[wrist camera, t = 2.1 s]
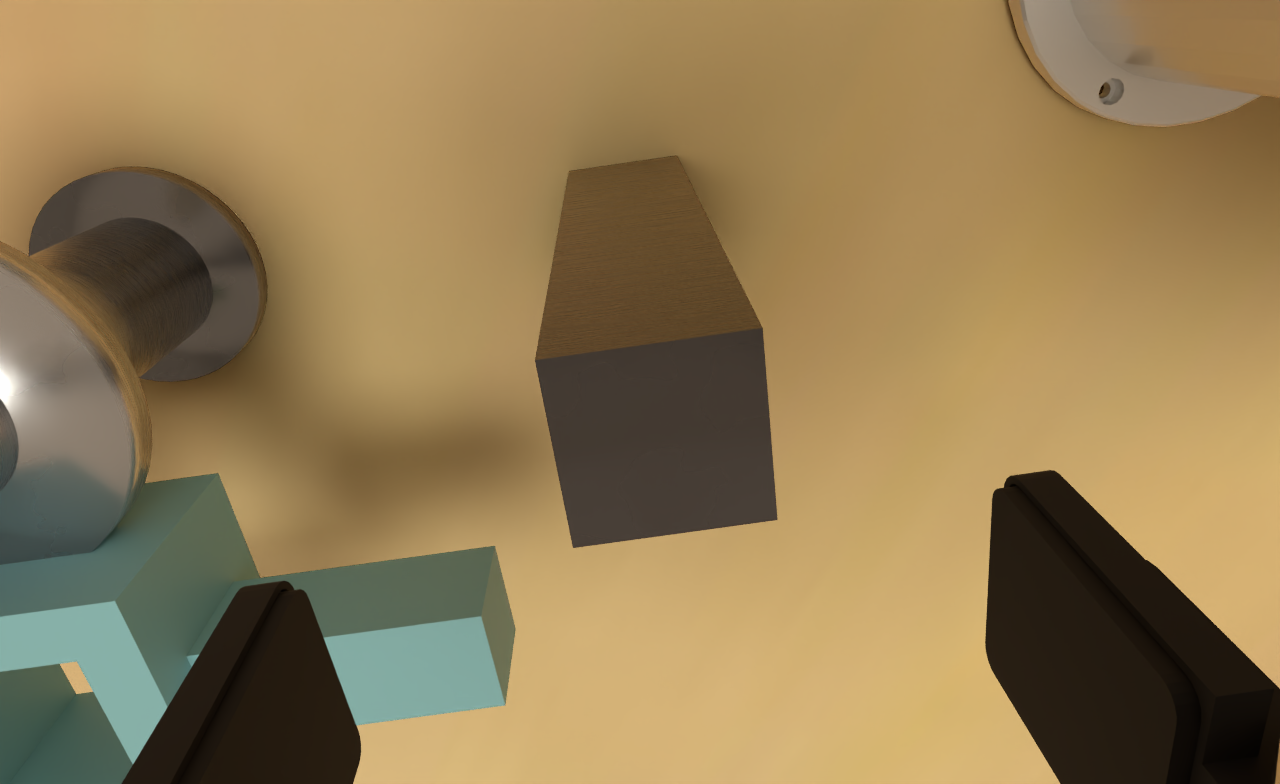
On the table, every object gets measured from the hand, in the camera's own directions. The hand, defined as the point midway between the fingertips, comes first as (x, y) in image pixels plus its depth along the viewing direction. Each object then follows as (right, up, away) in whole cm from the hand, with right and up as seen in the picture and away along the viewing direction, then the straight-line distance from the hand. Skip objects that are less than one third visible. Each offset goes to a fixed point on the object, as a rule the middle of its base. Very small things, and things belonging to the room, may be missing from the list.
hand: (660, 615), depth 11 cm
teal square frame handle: (-13, -4, +16) cm, 21 cm away
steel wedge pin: (-1, +10, +20) cm, 23 cm away
